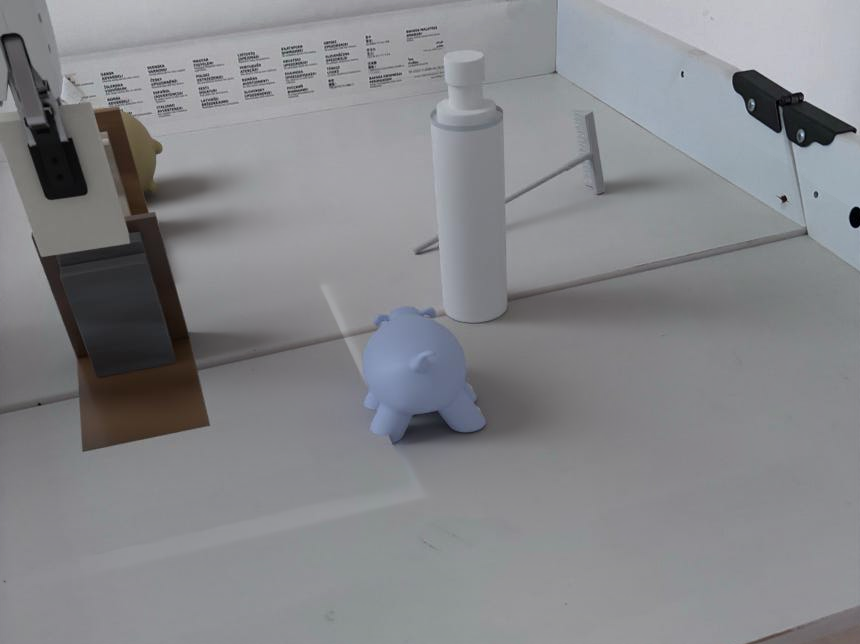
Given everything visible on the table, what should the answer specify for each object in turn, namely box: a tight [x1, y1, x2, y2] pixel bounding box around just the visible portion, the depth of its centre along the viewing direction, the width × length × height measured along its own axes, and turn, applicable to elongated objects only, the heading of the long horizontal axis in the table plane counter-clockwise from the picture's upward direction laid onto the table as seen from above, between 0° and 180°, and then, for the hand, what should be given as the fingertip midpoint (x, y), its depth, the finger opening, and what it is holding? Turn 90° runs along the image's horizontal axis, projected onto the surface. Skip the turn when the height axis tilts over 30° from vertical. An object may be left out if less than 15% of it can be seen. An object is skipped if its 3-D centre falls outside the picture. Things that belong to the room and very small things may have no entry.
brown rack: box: [31, 211, 211, 453], centre depth 87 cm, size 18×11×13 cm, turn 18°
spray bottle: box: [429, 49, 508, 324], centre depth 93 cm, size 7×7×25 cm
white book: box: [0, 101, 130, 257], centre depth 76 cm, size 2×7×10 cm, turn 107°
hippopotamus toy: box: [362, 305, 487, 445], centre depth 85 cm, size 11×15×10 cm
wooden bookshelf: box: [93, 106, 150, 217], centre depth 109 cm, size 18×11×13 cm, turn 18°
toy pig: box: [93, 106, 164, 194], centre depth 123 cm, size 10×12×11 cm
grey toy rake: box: [412, 107, 606, 255], centre depth 115 cm, size 4×28×9 cm, turn 124°
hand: (66, 187), depth 76 cm, fingers closed on white book, 2 cm apart
